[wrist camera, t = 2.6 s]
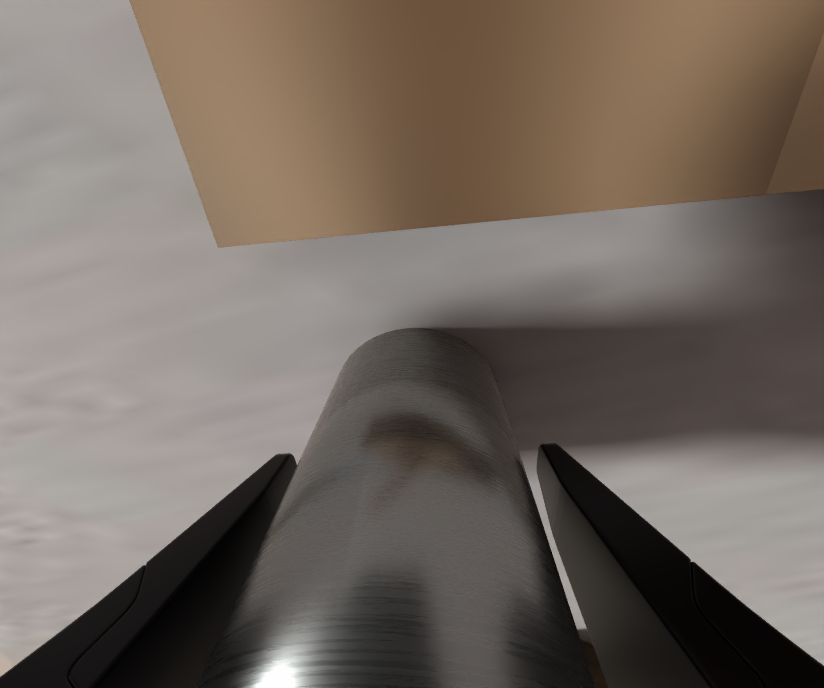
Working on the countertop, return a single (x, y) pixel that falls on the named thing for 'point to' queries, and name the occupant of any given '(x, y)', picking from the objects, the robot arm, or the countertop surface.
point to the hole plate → (483, 107)
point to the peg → (405, 543)
